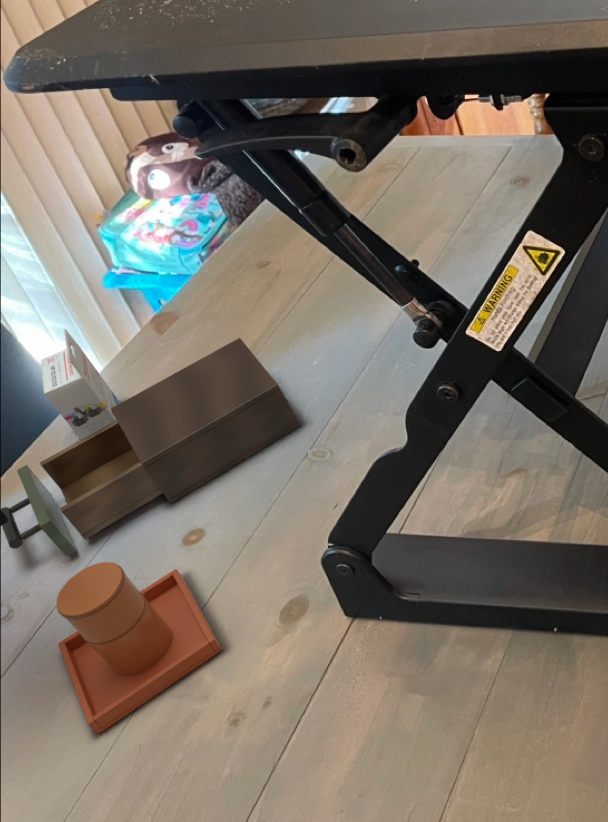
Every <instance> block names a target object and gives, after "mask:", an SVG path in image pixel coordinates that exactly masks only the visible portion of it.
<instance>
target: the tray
mask: <svg viewBox="0 0 608 822" xmlns="http://www.w3.org/2000/svg"><path fill="white" fill-rule="evenodd" d="M139 591H140V592H141V593H142V594H143V595H144V596H145V598H146V600H147V601H148V602H149V603H150V604H151V606H152V607H153V608H154V609H155V610H156V612H157V613H158V614H159V615H160V616H161V618H162V619H163V620H164V621H165V623H166V624H167V625H168V626H169V627H170V629H171V631H172V642H171V645H170V647H169V649H168V651H167V652H166V654H165V655H164V656H163V657H162V658H161V659H160V660H159V661H158V662H157V663H156V664H155V665H154V666H152V667H151V668H149V669H147V670H146V671H144V672H141V673H139V674H136V675H131V676H123V675H119V674H117V673H116V672H115V671H114V670H113V669H112V668H111V667H110V666H109V665H108V664H107V663H106V662H105V660H104V659H103V658H102V657H101V656H100V655H99V654H98V653H97V652H96V651H95V650H94V649H93V647H92V646H91V645H90V644H89V643H87V642H86V641H85V640H84V639H83V637H82V636H81V634H80V633H79V632H78V631H77V630H76V631H75V632H74V633H73V634H71V635H69V636H68V637H66V638H64V639H63V640H61V641H59V642H58V643H57V644H58V648H59V651H60V653H61V655H62V658H63V661H64V664H65V666H66V669H67V671H68V675H69V677H70V679H71V682H72V685H73V687H74V690H75V692H76V696H77V699H78V702H79V703H80V706H81V709H82V712H83V714H84V717H85V720H86V723H87V724H88V726H89V727H90V728H91V729H92V730H93V731H94V732H96V734H98V735H99V734H101V733H102V732H104V731H105V730H107V729H108V728H110V727H112V726H113V725H114V724H116V723H117V722H119V721H120V720H121V719H123V718H124V717H126V716H128V715H129V714H131V713H132V712H133V711H135V710H136V709H137V708H140V707H141V706H143V704H145V703H146V702H149V700H151V699H153V698H154V697H156V696H157V695H158V694H160V693H161V692H163V691H165V689H167V688H169V687H170V686H171V685H173V684H175V683H176V682H178V681H179V680H180V679H182V678H183V677H185V676H187V675H188V674H189V673H191V672H192V671H194V670H195V669H197V668H198V667H200V666H201V665H203V664H204V663H205V662H207V661H208V660H210V659H211V658H213V657H215V656H216V655H218V654H219V653H220V652H221V651H223V648H222V646H221V644H220V642H219V641H218V639H217V637H216V635H215V633H214V631H213V629H212V628H211V626H210V624H209V622H208V620H207V619H206V616H205V614H204V613H203V611H202V609H201V607H200V605H199V603H198V602H197V600H196V598H195V596H194V594H193V592H192V591H191V589H190V587H189V585H188V583H187V582H186V579H185V578H184V576H183V575H182V574H181V573H180V572H179V571H178V568H175V569H174V570H171V571H170V572H168V573H167V574H166V575H163V576H162V577H161V578H159V579H158V580H156V581H154V582H153V583H151V584H150V585H148V586H146V587H145V588H143V589H142V590H139Z"/></svg>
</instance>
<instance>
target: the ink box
mask: <svg viewBox="0 0 608 822" xmlns="http://www.w3.org/2000/svg"><path fill="white" fill-rule="evenodd" d="M62 330H63V333H64V340H65V347H66V349H63V350H61V351H58V352H56V353H54V354H52V355H48V356H47V357H44V358H42V359H41V360H40V364H41V366H40V367H41V377H42V385H43V394H44V396H45V397H46V398H47V399H48V401H50V403H51V404H52V405H53V407H54V408H55V409H56V410H57V411H58V413H59V414H60V416H61V417H62V418H63V419H64V421H65V422H66V423H67V424H68V426H69V427H70V429H71V430H73V432H74V433H75V434H76V435H77V437H78V439H80V440H81V439H83V438H85V437H87V436H89V435H90V434H92V433H94V432H96V431H98V430H99V429H101V428H103V427H105V426H107V425H108V424H110V423H112V422H114V421H116V420H117V419H116V418H115V416H114V414H113V412H112V411H111V408H113V407H114V406H116V405H118V404H120V403H121V401H119V399H118V397H117V396H116V394H115V393H114V392H113V391H112V388H110V386H109V385H108V384H107V382H106V380H105V379H104V378H103V377H102V376H101V374H100V373H99V371H98V369H96V367H95V366H94V364H93V363H92V362H91V360H90V359H89V357H88V356H87V354H86V353H85V352H84V351H83V349H82V348H81V346H80V344H78V343H77V341H76V340H75V339H74V338H73V336H72V335H71V334H70V332H69V331H68V330H67V329H66V328H63V329H62Z"/></svg>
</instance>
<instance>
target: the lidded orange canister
mask: <svg viewBox="0 0 608 822" xmlns="http://www.w3.org/2000/svg"><path fill="white" fill-rule="evenodd" d="M140 591H141V590H140V589H138V587H137V586H136V585H135V583H134V582H133V581H132V580H131V579H130V577H128V575H127V574H126V573H125V571H124V569H123V568H122V566H121V565H119V564H117V563H115V562H111V561H103V562H98V563H94V564H92V565H89V566H86V567H85V568H83V569H80V571H78V572H77V573H76V574H74V575H73V576H72V577H70V579H68V580H67V581H66V583H65V584H63V586H62V587H61V589H60V591H59V593H58V594H57V597H56V602H55V603H56V605H55V607H56V611H57V613H58V614H59V615H60V616H61V617H62V618H64V619H65V620H66V621H67V622H68V623H69V624H70V625H71V626H72V627H73V628H74V629H75V630H76V632H77V631H78V632H79V633H80V634H81V636H82V637H83V639H84V640H85V641H86V642H87V643H89V644H90V645H91V646H92V647H93V649H94V650H95V651H96V652H97V653H98V654H99V655H100V656H101V657H102V658H103V659H104V660H105V662H106V663H107V664H108V665H109V666H110V667H111V668H112V669H113V670H114V671H115V672H116V673H117V674H119V675H123V676H131V675H136V674H139V673H141V672H144V671H146V670H147V669H149V668H151V667H152V666H154V665H155V664H156V663H157V662H158V661H159V660H160V659H161V658H162V657H163V656H164V655H165V654H166V652H167V651H168V649H169V647H170V645H171V642H172V631H171V629H170V627H169V626H168V625H167V624H166V623H165V621H164V620H163V619H162V618H161V616H160V615H159V614H158V613H157V612H156V610H155V609H154V608H153V607H152V606H151V604H150V603H149V602H148V601H147V600H146V598H145V596H144V595H143V594H142V593H141V592H140Z"/></svg>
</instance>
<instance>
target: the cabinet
mask: <svg viewBox="0 0 608 822" xmlns="http://www.w3.org/2000/svg"><path fill="white" fill-rule="evenodd" d="M111 411H112V412H113V414H114V416H115V418H116V419H117V421H118V423H119V425H120V427H121V428H122V430H123V432H124V434H125V435H126V437H127V439H128V441H129V443H130V444H131V446H132V448H133V450H134V451H135V453H136V455H137V457H138V459H139V460H140V462H141V464H142V465H143V467H144V468H145V469H146V471H147V472H148V473H149V475H150V476H151V477H152V479H153V480H154V481H155V483H156V484H157V486H158V487H159V488H160V490H161V491H162V492H163V493H162V494H163V495H164V496H165V498H166V499H167V501H168V502H169V503H170V504H174V503H175V502H177V501H179V500H180V499H182V498H184V497H185V496H188V495H189V494H191V493H192V492H194V491H196V490H197V489H200V488H201V487H202V486H204V485H206V484H207V483H209V482H210V481H212V480H214V479H215V478H217V477H219V476H220V475H223V474H224V473H225V472H227V471H228V470H230V469H232V468H234V467H236V466H237V465H238V464H240V463H242V462H243V461H245V460H247V459H248V458H250V457H252V456H253V455H255V454H256V453H258V452H260V451H262V450H264V449H265V448H267V447H268V446H270V445H272V444H273V443H275V442H277V441H278V440H280V439H282V438H284V437H285V436H287V435H289V434H290V433H291V432H294V431H295V430H296V429H298V428H299V427H301V426H302V423H301V422H300V420H299V419H298V417H297V415H296V413H295V411H294V410H293V408H292V406H291V405H290V403H289V401H288V400H287V398H286V396H285V394H284V392H283V390H282V389H281V387H280V385H279V383H277V381H275V379H274V378H273V376H272V375H271V374H270V372H268V370H267V369H266V368H265V366H264V365H262V363H261V362H260V361H259V359H258V358H257V357H256V356H255V354H254V353H253V352H252V350H251V349H250V348H249V346H247V344H246V343H245V342H244V341H243V340H242V338H241V337H238V338H236V339H235V340H232V341H231V342H229V343H227V344H225V345H223V346H222V347H220V348H218V349H217V350H215V351H213V352H211V353H209V354H207V355H206V356H204V357H202V358H200V359H198V360H196V361H195V362H192V363H191V364H189V365H187V366H186V367H183V368H182V369H180V370H178V371H176V372H175V373H173V374H171V375H169V376H167V377H165V378H164V379H162V380H160V381H158V382H156V383H154V384H153V385H151V386H149V387H147V388H146V389H144V390H142V391H140V392H138V393H136V394H134V395H133V396H131V397H129V398H127V399H126V400H124V401H122V402H120V404H118V405H116V406H114V407H113V408H111Z"/></svg>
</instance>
